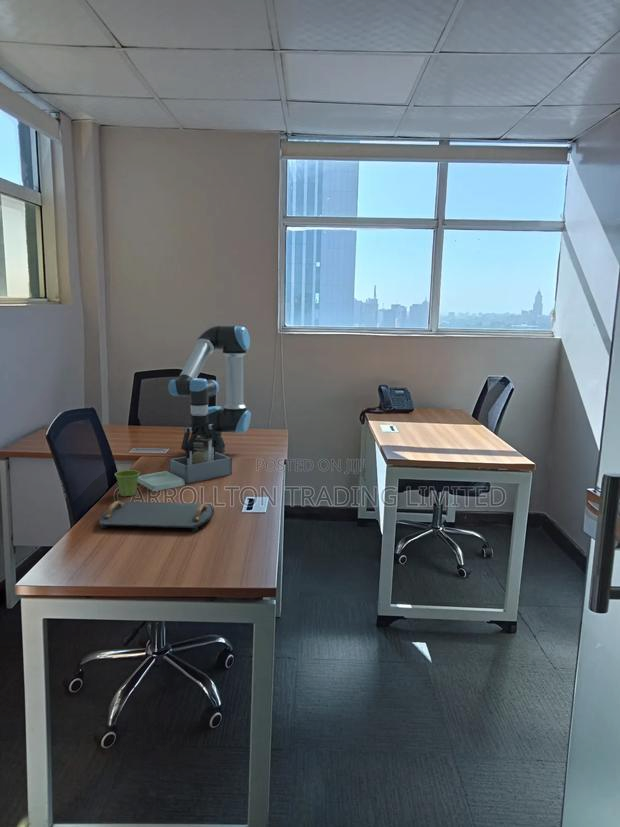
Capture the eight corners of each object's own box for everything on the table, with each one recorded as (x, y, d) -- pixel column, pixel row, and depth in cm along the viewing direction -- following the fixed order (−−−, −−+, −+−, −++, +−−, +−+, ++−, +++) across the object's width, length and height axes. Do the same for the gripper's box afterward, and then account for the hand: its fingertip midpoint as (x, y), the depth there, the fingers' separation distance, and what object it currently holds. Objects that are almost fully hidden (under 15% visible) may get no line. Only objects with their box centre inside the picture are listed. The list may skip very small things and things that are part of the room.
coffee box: (188, 475, 251) (187, 439, 248) (193, 471, 257) (192, 436, 254) (209, 475, 250) (208, 440, 247) (213, 471, 256) (212, 437, 253)
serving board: (219, 511, 209) (219, 495, 208) (204, 535, 187) (203, 517, 186) (117, 508, 212) (116, 492, 211) (89, 532, 189) (88, 514, 188)
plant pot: (127, 489, 233) (126, 468, 231) (145, 492, 228) (144, 471, 227) (110, 495, 224) (109, 474, 223) (128, 499, 220) (127, 477, 219)
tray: (166, 476, 251) (166, 470, 251) (184, 485, 238) (184, 479, 238) (136, 482, 242) (135, 476, 242) (153, 491, 229) (153, 486, 229)
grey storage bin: (214, 467, 267) (214, 451, 265) (232, 474, 255) (231, 457, 254) (169, 475, 252) (169, 459, 251) (185, 483, 241) (185, 466, 239)
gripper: (217, 410, 259) (218, 457, 263) (171, 415, 244) (173, 465, 248) (226, 412, 253) (227, 460, 257) (179, 418, 239) (181, 469, 243)
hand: (200, 463), depth 253 cm, fingers closed on coffee box, 10 cm apart
